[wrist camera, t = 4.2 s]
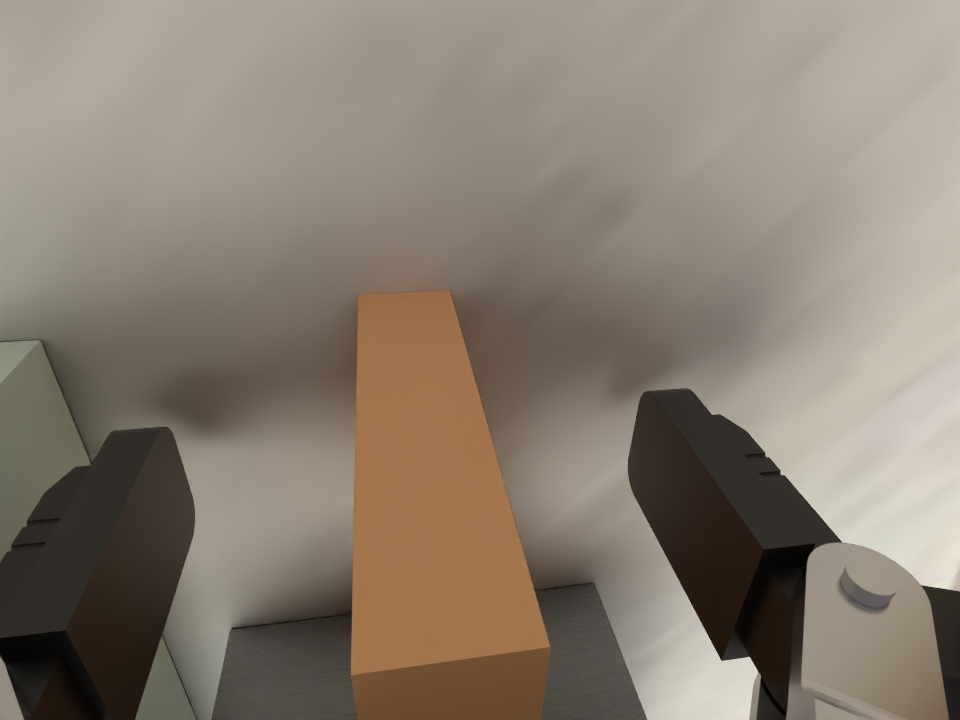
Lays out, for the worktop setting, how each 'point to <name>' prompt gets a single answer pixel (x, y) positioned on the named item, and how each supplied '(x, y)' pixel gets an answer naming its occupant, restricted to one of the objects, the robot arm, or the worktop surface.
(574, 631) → the box
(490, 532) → the brown rectangular block
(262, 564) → the worktop surface
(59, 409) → the tray
